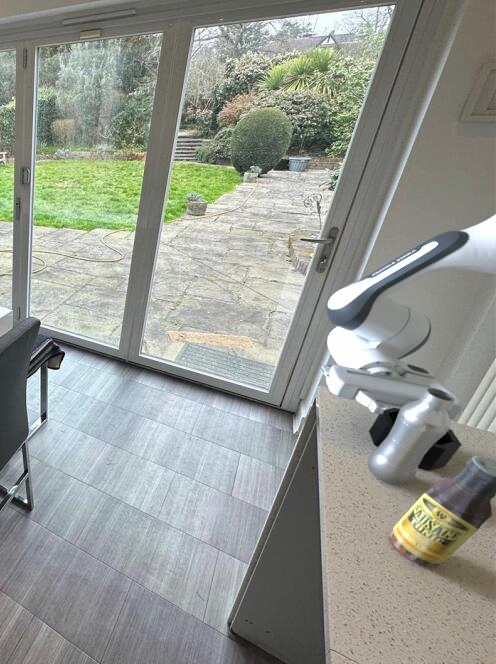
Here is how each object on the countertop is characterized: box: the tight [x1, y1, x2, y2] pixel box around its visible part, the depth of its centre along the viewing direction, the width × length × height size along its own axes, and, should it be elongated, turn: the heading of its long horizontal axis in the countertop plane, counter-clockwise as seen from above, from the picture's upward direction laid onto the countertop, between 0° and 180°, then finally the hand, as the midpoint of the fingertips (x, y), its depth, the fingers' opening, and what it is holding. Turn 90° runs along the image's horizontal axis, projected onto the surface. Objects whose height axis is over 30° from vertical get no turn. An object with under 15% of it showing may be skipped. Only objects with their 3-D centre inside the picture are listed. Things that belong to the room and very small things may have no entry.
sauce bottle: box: [389, 455, 496, 567], centre depth 61 cm, size 6×6×20 cm
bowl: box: [368, 407, 462, 472], centre depth 84 cm, size 11×11×6 cm
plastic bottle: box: [367, 388, 455, 486], centre depth 74 cm, size 6×7×20 cm
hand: (410, 417), depth 75 cm, fingers open, 8 cm apart
